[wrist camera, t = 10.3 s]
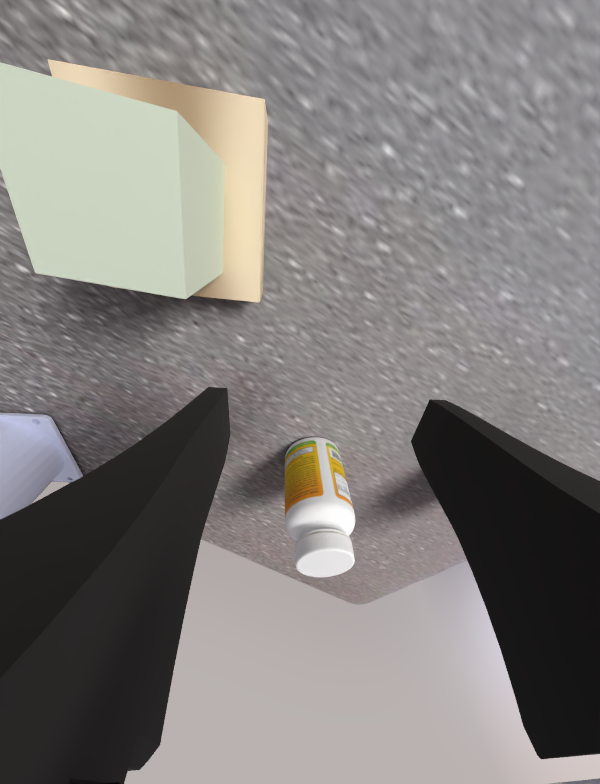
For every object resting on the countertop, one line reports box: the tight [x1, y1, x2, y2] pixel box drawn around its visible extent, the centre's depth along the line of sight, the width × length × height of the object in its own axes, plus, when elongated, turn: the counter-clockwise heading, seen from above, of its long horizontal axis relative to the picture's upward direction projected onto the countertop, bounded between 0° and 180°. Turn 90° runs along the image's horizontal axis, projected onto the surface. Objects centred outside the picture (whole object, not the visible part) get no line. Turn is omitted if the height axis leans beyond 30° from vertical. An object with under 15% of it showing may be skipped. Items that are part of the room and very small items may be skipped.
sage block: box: [0, 63, 225, 299], centre depth 10 cm, size 4×4×6 cm
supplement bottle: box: [285, 437, 355, 577], centre depth 21 cm, size 5×5×10 cm
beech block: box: [48, 60, 268, 302], centre depth 13 cm, size 8×8×3 cm
